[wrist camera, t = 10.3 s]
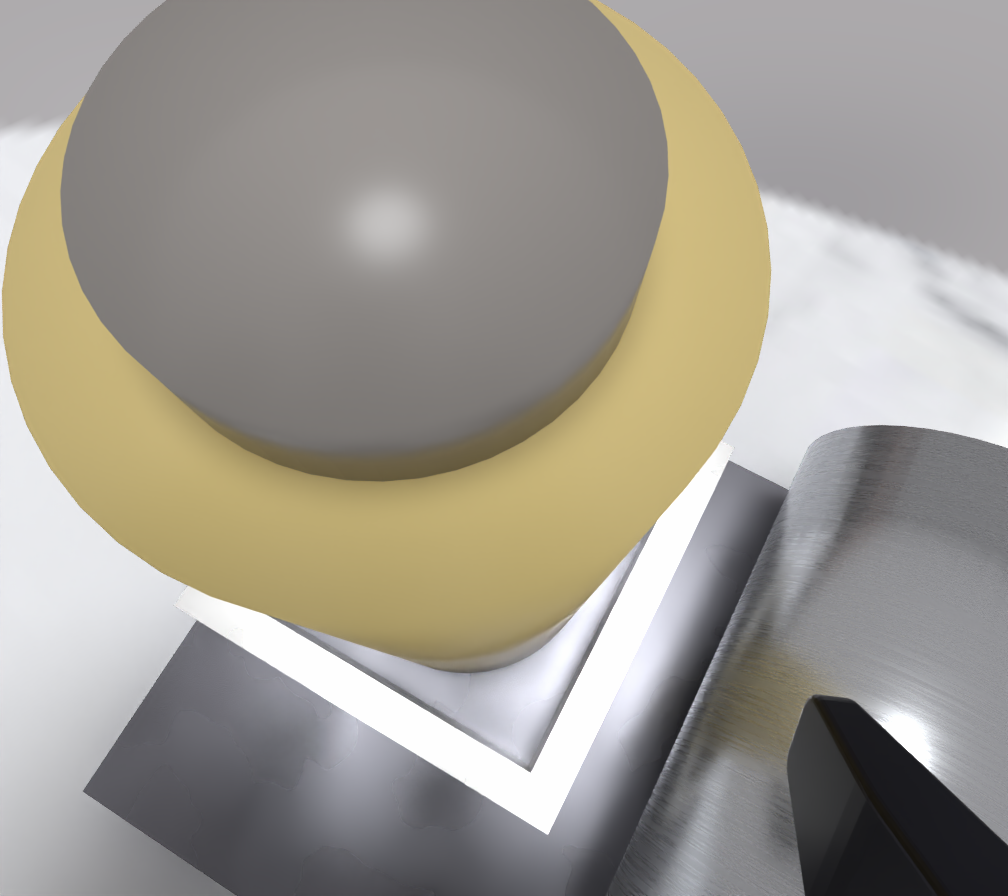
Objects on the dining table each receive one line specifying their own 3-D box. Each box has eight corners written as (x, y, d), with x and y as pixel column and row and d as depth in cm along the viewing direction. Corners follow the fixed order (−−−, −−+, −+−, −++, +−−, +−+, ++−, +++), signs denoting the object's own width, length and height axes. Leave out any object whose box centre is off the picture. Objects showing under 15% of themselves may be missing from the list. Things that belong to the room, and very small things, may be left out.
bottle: (446, 729, 17) (227, 866, 4) (296, 527, 18) (-251, 98, 5) (642, 562, 18) (1017, 204, 5) (487, 384, 20) (446, -266, 6)
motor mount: (772, 1222, 15) (998, 1678, 8) (116, 783, 18) (-141, 842, 11) (985, 614, 19) (1267, 566, 12) (416, 326, 22) (370, 148, 15)
